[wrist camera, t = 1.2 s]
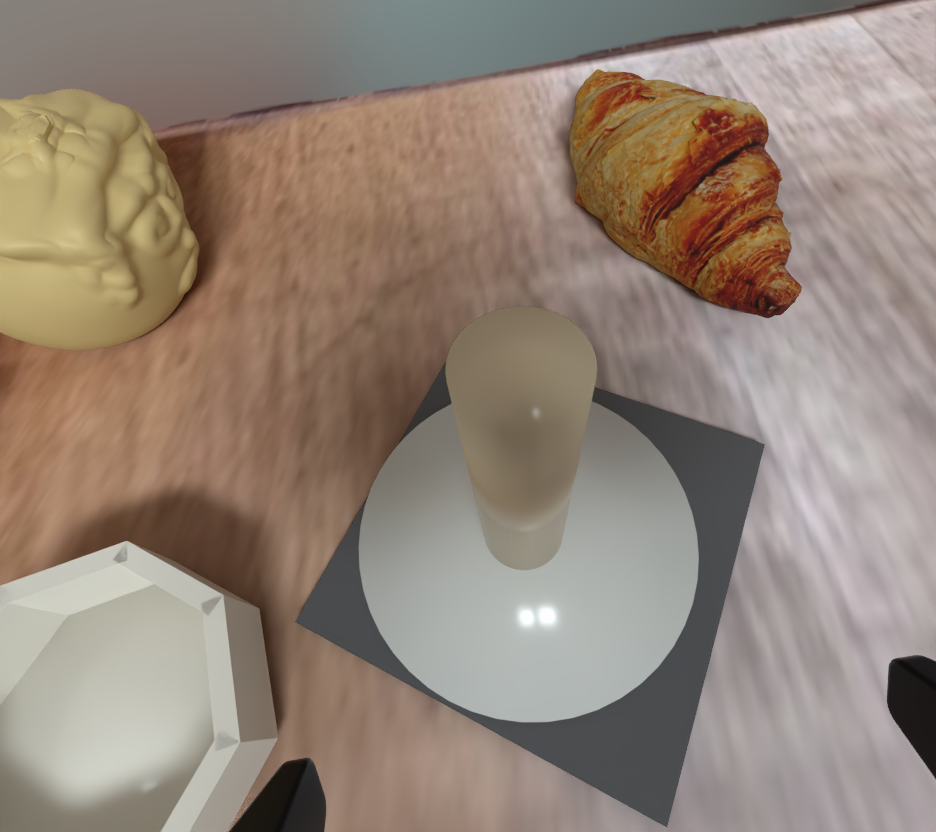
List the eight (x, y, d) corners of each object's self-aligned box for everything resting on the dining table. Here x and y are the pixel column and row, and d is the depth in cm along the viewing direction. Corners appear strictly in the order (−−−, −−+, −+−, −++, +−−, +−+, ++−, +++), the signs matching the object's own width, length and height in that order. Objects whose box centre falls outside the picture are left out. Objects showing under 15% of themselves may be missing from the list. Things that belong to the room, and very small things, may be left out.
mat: (761, 448, 24) (764, 444, 24) (663, 824, 18) (667, 827, 18) (458, 346, 28) (457, 341, 28) (299, 623, 22) (295, 621, 22)
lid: (729, 457, 23) (915, 227, 12) (632, 800, 18) (806, 948, 7) (450, 360, 27) (398, 116, 16) (302, 619, 22) (67, 523, 11)
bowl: (332, 648, 22) (299, 637, 18) (137, 1010, 17) (48, 1078, 14) (124, 532, 25) (66, 506, 22) (-87, 809, 20) (-200, 827, 17)
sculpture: (216, 361, 29) (69, 195, 20) (3, 391, 30) (-240, 242, 20) (238, 215, 35) (131, 32, 25) (59, 242, 35) (-112, 71, 26)
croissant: (546, 165, 40) (492, 81, 33) (670, 64, 36) (637, -52, 30) (703, 390, 29) (669, 329, 23) (899, 275, 26) (924, 166, 19)
